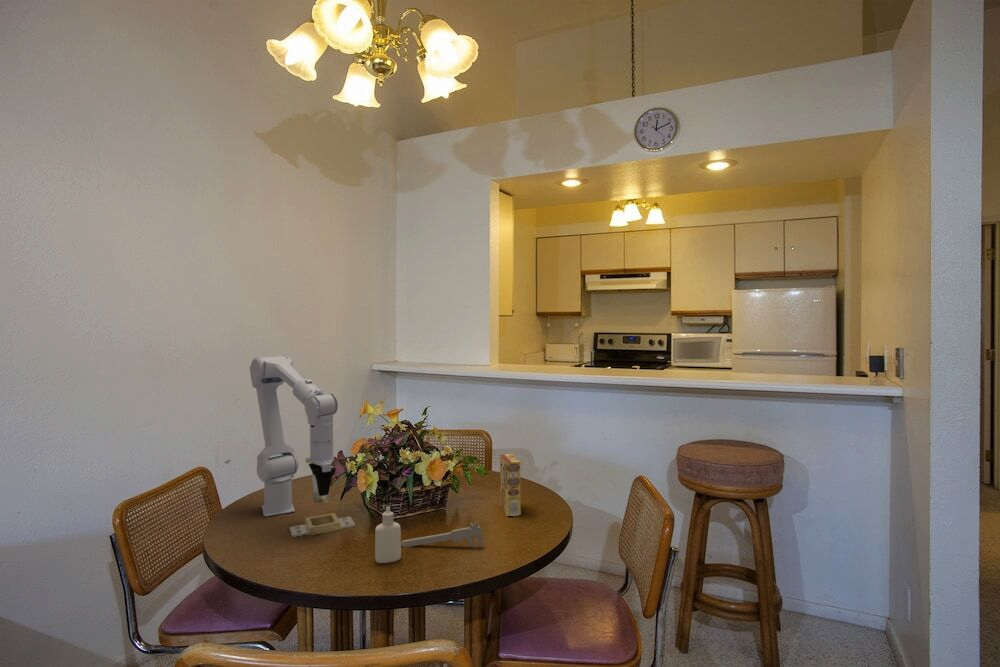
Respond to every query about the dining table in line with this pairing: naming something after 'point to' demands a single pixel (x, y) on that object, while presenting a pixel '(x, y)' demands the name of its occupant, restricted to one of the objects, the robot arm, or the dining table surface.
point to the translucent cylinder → (316, 496)
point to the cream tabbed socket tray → (323, 528)
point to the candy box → (510, 485)
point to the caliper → (448, 537)
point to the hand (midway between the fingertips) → (322, 492)
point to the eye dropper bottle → (387, 539)
